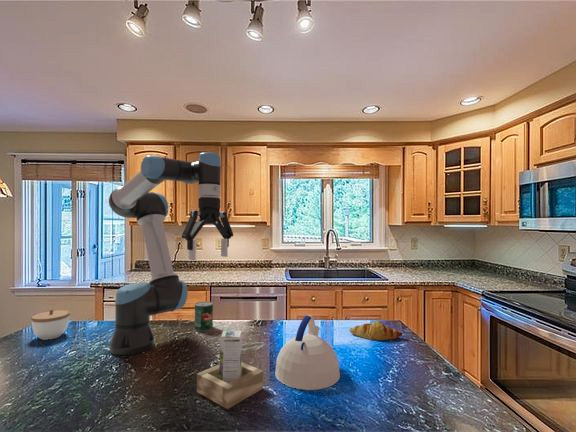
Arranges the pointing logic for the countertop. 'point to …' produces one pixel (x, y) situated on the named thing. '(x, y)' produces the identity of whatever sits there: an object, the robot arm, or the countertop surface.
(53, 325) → the lidded bowl
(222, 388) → the socket block
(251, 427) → the countertop surface
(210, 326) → the canned tomato
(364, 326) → the croissant
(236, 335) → the syrup box
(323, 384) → the kettle
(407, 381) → the countertop surface
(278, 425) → the countertop surface
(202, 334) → the countertop surface
